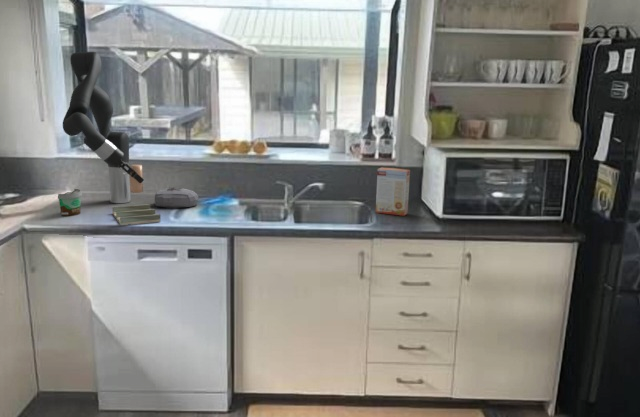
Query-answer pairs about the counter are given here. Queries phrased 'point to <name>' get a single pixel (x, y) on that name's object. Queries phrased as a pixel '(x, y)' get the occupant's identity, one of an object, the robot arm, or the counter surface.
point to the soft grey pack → (176, 198)
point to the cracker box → (392, 191)
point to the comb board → (135, 214)
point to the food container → (70, 203)
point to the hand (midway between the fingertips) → (140, 180)
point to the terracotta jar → (134, 184)
